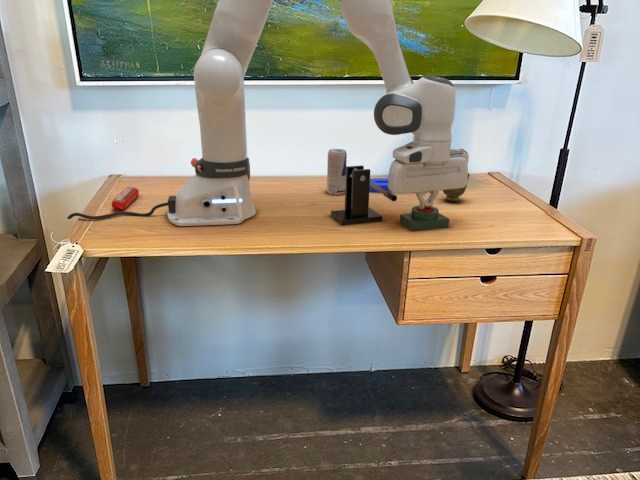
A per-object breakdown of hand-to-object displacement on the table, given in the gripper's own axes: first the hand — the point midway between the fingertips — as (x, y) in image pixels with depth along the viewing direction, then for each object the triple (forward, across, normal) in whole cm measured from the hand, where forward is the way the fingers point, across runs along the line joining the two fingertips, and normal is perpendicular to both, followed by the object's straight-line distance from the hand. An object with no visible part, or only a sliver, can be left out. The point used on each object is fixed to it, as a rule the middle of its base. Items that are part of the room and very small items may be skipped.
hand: (425, 208), depth 143 cm
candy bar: (+4, +68, -42) cm, 80 cm away
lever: (-3, +10, -10) cm, 15 cm away
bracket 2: (+4, -8, -33) cm, 34 cm away
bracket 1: (+4, +14, -10) cm, 18 cm away
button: (+2, 0, 0) cm, 2 cm away
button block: (+4, 0, 0) cm, 4 cm away
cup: (+4, -18, -16) cm, 24 cm away
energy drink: (+4, +10, -34) cm, 36 cm away
